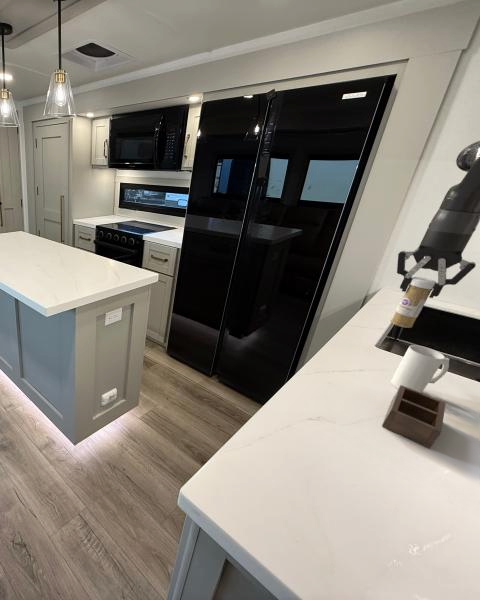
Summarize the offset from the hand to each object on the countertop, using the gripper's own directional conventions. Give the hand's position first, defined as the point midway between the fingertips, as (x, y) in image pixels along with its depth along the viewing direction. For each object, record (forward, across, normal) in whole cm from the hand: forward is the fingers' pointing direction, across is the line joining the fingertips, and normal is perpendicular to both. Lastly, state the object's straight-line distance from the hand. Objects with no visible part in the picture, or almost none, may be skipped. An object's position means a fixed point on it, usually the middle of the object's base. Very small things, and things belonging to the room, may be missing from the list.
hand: (417, 293), depth 82 cm
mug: (+26, -8, +1) cm, 28 cm away
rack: (+26, -9, +19) cm, 34 cm away
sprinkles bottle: (+10, 0, 0) cm, 10 cm away
